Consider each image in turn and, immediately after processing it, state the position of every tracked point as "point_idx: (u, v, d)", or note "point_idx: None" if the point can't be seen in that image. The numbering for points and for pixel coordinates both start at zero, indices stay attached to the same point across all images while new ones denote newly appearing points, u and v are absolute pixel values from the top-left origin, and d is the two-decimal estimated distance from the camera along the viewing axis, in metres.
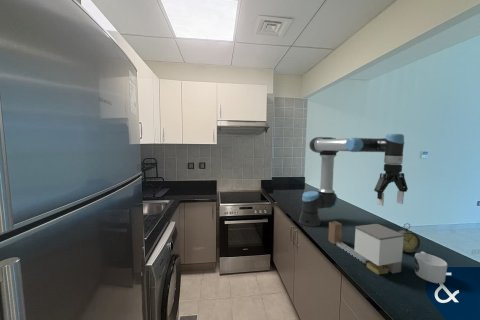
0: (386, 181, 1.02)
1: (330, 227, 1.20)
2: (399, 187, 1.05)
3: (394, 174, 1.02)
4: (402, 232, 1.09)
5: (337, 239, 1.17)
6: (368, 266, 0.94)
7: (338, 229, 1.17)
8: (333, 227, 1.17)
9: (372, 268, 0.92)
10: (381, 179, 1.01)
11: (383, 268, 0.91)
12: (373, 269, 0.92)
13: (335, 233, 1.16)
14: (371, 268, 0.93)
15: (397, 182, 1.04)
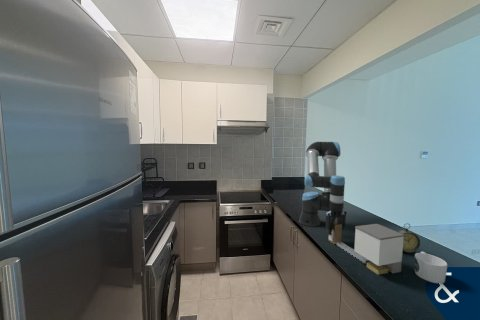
0: (332, 218, 1.18)
1: None
2: None
3: (337, 211, 1.17)
4: (402, 232, 1.09)
5: (337, 239, 1.17)
6: (368, 266, 0.94)
7: (338, 229, 1.17)
8: (333, 227, 1.17)
9: (372, 268, 0.92)
10: (327, 218, 1.17)
11: (383, 268, 0.91)
12: (373, 269, 0.92)
13: (335, 233, 1.16)
14: (371, 268, 0.93)
15: (338, 218, 1.19)
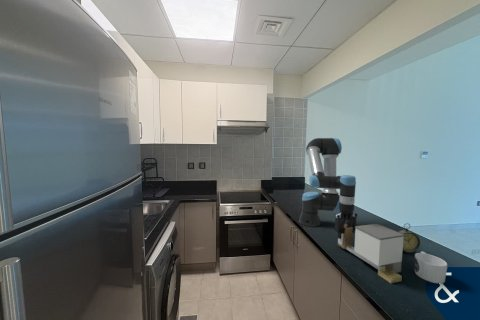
0: (342, 221, 1.10)
1: None
2: None
3: (347, 213, 1.10)
4: (402, 232, 1.09)
5: (347, 243, 1.10)
6: (380, 273, 0.89)
7: (348, 232, 1.09)
8: (343, 230, 1.10)
9: (384, 276, 0.87)
10: (337, 220, 1.09)
11: (396, 276, 0.86)
12: (385, 277, 0.86)
13: (345, 237, 1.09)
14: (383, 275, 0.87)
15: (348, 221, 1.11)
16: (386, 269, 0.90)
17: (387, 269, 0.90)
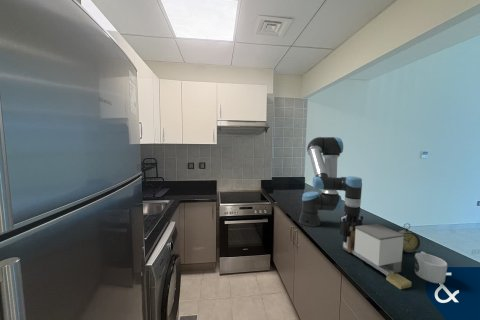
0: (347, 224, 1.06)
1: None
2: None
3: (353, 215, 1.06)
4: (402, 232, 1.09)
5: (353, 247, 1.06)
6: (388, 279, 0.85)
7: (354, 236, 1.06)
8: (349, 233, 1.06)
9: (393, 281, 0.83)
10: (342, 223, 1.06)
11: (405, 282, 0.82)
12: (394, 283, 0.83)
13: (351, 241, 1.05)
14: (392, 281, 0.84)
15: (354, 224, 1.08)
16: (395, 274, 0.87)
17: (396, 274, 0.87)
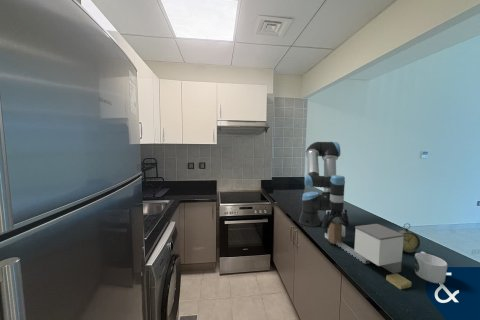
0: (331, 217, 1.17)
1: (330, 227, 1.20)
2: (342, 222, 1.20)
3: (337, 210, 1.17)
4: (402, 232, 1.09)
5: (337, 239, 1.17)
6: (388, 279, 0.85)
7: (338, 229, 1.17)
8: (333, 227, 1.17)
9: (393, 281, 0.83)
10: (326, 216, 1.16)
11: (405, 282, 0.82)
12: (394, 283, 0.83)
13: (335, 233, 1.16)
14: (392, 281, 0.84)
15: (340, 217, 1.19)
16: (395, 274, 0.87)
17: (396, 274, 0.87)
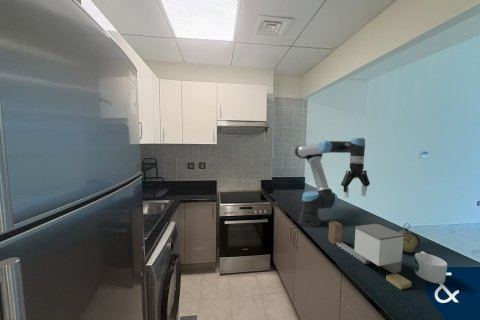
0: (351, 177, 1.22)
1: (330, 227, 1.20)
2: (362, 182, 1.25)
3: (357, 171, 1.22)
4: (402, 232, 1.09)
5: (337, 239, 1.17)
6: (388, 279, 0.85)
7: (338, 229, 1.17)
8: (333, 227, 1.17)
9: (393, 281, 0.83)
10: (346, 175, 1.21)
11: (405, 282, 0.82)
12: (394, 283, 0.83)
13: (335, 233, 1.16)
14: (392, 281, 0.84)
15: (360, 178, 1.24)
16: (395, 274, 0.87)
17: (396, 274, 0.87)
